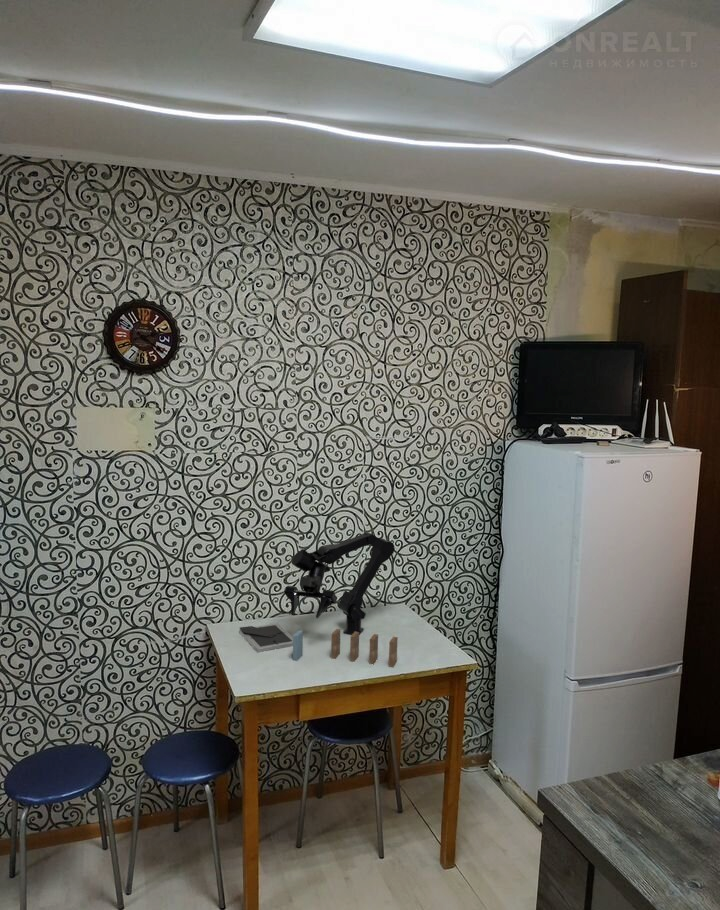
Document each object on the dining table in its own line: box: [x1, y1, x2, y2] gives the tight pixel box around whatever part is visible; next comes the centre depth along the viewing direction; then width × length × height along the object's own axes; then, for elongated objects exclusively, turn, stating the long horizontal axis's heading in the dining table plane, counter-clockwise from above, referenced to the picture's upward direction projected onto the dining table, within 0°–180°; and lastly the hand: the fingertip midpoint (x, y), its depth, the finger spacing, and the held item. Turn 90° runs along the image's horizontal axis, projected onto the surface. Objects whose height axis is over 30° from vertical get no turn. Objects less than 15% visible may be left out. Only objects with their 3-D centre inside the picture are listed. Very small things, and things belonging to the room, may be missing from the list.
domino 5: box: [388, 636, 399, 668], centre depth 244 cm, size 2×5×9 cm, turn 163°
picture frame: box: [238, 622, 293, 653], centre depth 265 cm, size 16×3×21 cm
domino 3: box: [349, 632, 360, 662], centre depth 248 cm, size 2×5×9 cm, turn 163°
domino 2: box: [330, 628, 341, 660], centre depth 250 cm, size 2×5×9 cm, turn 163°
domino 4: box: [368, 633, 379, 666], centre depth 246 cm, size 2×5×9 cm, turn 163°
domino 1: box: [292, 630, 304, 662], centre depth 248 cm, size 2×5×9 cm, turn 163°
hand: (304, 616), depth 252 cm, fingers open, 9 cm apart
